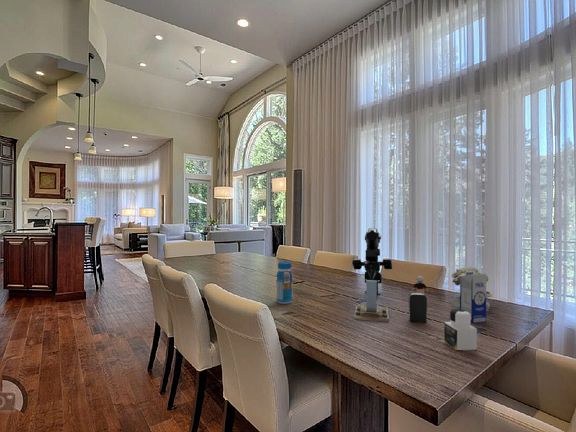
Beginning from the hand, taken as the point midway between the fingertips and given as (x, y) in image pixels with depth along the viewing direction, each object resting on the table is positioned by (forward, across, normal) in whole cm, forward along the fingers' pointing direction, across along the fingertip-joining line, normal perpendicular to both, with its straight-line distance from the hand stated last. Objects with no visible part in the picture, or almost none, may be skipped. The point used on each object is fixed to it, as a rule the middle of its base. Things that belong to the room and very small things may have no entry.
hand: (371, 279), depth 151 cm
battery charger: (+20, +19, -2) cm, 28 cm away
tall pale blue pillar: (+16, 0, -1) cm, 16 cm away
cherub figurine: (0, +44, +25) cm, 51 cm away
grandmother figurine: (0, +21, +23) cm, 31 cm away
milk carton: (+16, +41, +6) cm, 44 cm away
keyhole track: (+18, 0, -1) cm, 18 cm away
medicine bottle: (+35, +31, -18) cm, 50 cm away
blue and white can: (+12, -43, +2) cm, 45 cm away
